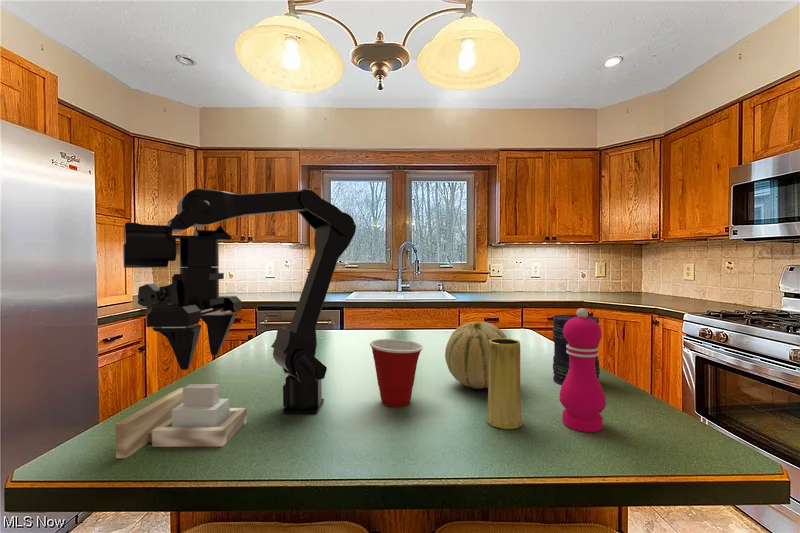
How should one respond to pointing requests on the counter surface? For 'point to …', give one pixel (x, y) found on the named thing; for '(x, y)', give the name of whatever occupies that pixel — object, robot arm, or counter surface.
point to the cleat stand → (171, 428)
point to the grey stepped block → (201, 407)
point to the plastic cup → (395, 369)
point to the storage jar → (564, 349)
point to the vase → (504, 384)
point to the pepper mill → (582, 375)
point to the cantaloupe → (471, 353)
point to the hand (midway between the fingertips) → (200, 361)
